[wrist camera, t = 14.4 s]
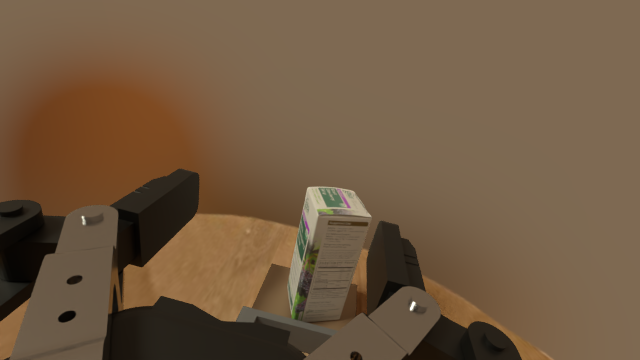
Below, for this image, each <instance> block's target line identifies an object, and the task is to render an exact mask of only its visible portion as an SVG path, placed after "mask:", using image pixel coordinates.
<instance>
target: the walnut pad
mask: <svg viewBox="0 0 640 360" xmlns="http://www.w3.org/2000/svg"><path fill="white" fill-rule="evenodd" d="M290 269H291V268H287V267H283V266H279V265H275V264H272V265H271V267H270V269H269V271H268V273H267V276H266V278H265V280H264V282H263V284H262V287H261V289H260V291H259V293H258V296H257V298H256V300H255V302H254V304H253V307H252V308H253V309H257V310H261V311H264V312H268V313H272V314H276V315H280V316H283V317H287V318H291V319H292V316H291V310H290V303H289V297H288V288H287V285H288V280H289V275H290ZM356 300H357V285H355V284H351V285H350V288H349V291H348V294H347V298H346V301H345V304H344V307H343V310H342V313H341V316H340V319H339V320H328V321H317V322H306V323H310V324H314V325H318V326H322V327H326V328H329V329H333V330H337V331H339V330H340V329H342V328H343V327H344V326H345V325H346V324H348V323H349V322H350V321H351V320H353V319H354V318H355V317H356Z"/></svg>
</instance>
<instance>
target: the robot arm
mask: <svg viewBox="0 0 640 360" xmlns="http://www.w3.org/2000/svg"><path fill="white" fill-rule="evenodd" d="M198 200H199V175H198V173H195V172H192V171H187V170H184V169H178V170H176V171H175V172H173V173H171V174H170V175H168V176H167V177H166V176H164V177H160V178H157V179H153V180H151V181H150V182H148V183H146V184H145V185H143V187H140V188H138V189H136V190H135V192H132V193H130V194H128V195H127V196H125V197H123V198H122V199H120V200H119V201H117V202H115V203H114V204H112V205H110V206H105V205H93V206H86V207H82V208H79V209H77V210H75V211H73V212H71V213H70V214H68V215H67V217H63V216H43V213H42V209H41V206H40V204H39V203H37V202H34V201H30V200H12V201H6V202H1V203H0V321H2V320H3V319H4V318H5V317H7V316H8V315H9V314H10V313H12V312H13V311H14V310H15V309H17V308H18V307H19V306H20V305H21V304H23V303H24V302H25V301H26V300H28V299H29V298H30V297H31V298H30V301H29V304H28V307H27V310H26V313H25V316H24V319H23V322H22V325H21V327H20V330H19V333H18V336H17V339H16V342H15V345H14V348H13V351H12V354H11V357H9V358H7V359H4V360H522V359H521V357H520V355H519V352H518V350H517V348H516V346H515V345H514V344H513V342H512V341H511V340H510V339H509V338H508V337H507V336H506V335H505V334H504V333H503V332H502V331H500V330H499V329H497V328H496V327H494V326H492V325H490V324H488V323H485V322H479V321H478V322H473V323H471V324H470V325H469V327H468V328H467V329H466V328H465V327H463V326H461V325H459V324H457V323H455V322H453V321H451V320H449V319H448V318H446V317H444V316H443V315H442V314H441V311H440V307H439V305H438V303H437V302H436V301H435V299H434V298H433V297H432V296H430V295H429V294H428V293H426V290H425V287H424V283H423V279H422V275H421V271H420V267H419V263H418V260H417V255H416V251H415V248H414V247H413V245H411V243H410V242H409V240H407V239H404V238H401V236H400V231H399V226H398V225H396V224H392V223H388V222H384V221H380V222H379V224H378V226H377V229H376V232H375V235H374V238H373V240H372V243H371V246H370V249H369V252H368V257H367V315H366V314H365V313H360V314H359V315H357V316H356V317H355V318H354V319H353V320H351V321H350V322H349V323H348V324H346V325H345V326H344V327H343V328H342V329H340V330H339V331H338V332H337V333H335V334H334V335H333V336H332V337H330V338H329V339H328V340H327V341H326V342H324V343H323V344H322V345H321V346H319V347H318V348H317V349H316V350H315V351H313V352H312V353H311V354H310V355H308V356H307V357H306V356H305V355H304V354H303V353H302V352H301V351H300V350H299V349H297V348H296V347H295V346H293V345H291V344H290V343H288V340H289V336H290V332H291V331H287V330H283V329H280V328H276V327H273V326H269V325H265V324H262V323H255V322H227V321H220V320H218V319H217V318H215V317H213V316H211V315H210V314H208V313H206V312H205V311H203V310H201V309H199V308H198V307H196V306H194V305H193V304H189V303H185V302H182V301H178V300H174V299H171V298H167V297H163V296H161V297H160V298H159V299H158V301H157V302H156V303H155V304H154V305H153V306H143V307H135V308H129V309H125V310H124V268H125V267H126V266H127V265H128V264H131V265H135V266H139V267H143V266H144V265H145V264H146V263H147V262H148V261H149V260H150V259H151V258H152V257H153V256H154V255H155V254H156V253H157V252H158V251H159V250H160V249H161V248H162V247H163V246H165V245H166V244H167V243H168V242H169V241H170V240H171V239H172V238H173V237H174V236H175V235H176V234H177V233H178V232H179V231H180V230H181V229H182V228H183V227H184V226H185V225H186V224H187V223H188V222H189V221H190V220H191V219H192V218H193V217H194V215H195V214H196V212H197V209H198V202H199V201H198Z"/></svg>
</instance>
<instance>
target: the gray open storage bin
mask: <svg viewBox="0 0 640 360" xmlns="http://www.w3.org/2000/svg"><path fill="white" fill-rule="evenodd" d="M236 322H255V323H262V324H265V325H269V326H273V327H276V328H280V329H283V330H287V331H291V332H290V336H289V340H288V343H290V344H291V345H293V346H295V347H296V348H297V349H299V350H300V351H301V352H305V353H309V354H311V353H312V352H313V351H315V350H316V349H317V348H318V347H319V346H321V345H322V344H323V343H324V342H326V341H327V340H328V339H329V338H330V337H332V336H333V335H334V334H335V333H337V332H338V331H337V330H333V329H329V328H326V327H322V326H318V325H314V324H310V323H306V322H303V321H299V320H295V319H291V318H287V317H283V316H280V315H276V314H272V313H268V312H264V311H261V310H257V309H253V308H249V307H245V306H243V308H242V310H241V312H240V314H239V316H238V318H237V320H236Z"/></svg>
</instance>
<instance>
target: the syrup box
mask: <svg viewBox="0 0 640 360" xmlns="http://www.w3.org/2000/svg"><path fill="white" fill-rule="evenodd" d="M370 222H371V215H370V214H369V213H368V212H367V211H366V209H365V207H364V205H363V204H362V202H361V201H360V199H359V198H358V197H357V195H356V193H355V192H354V191H352V190H346V189H341V188H334V187H308V188H307V193H306V198H305V202H304V208H303V212H302V217H301V222H300V226H299V230H298V235H297V240H296V245H295V249H294V254H293V259H292V264H291V269H290V275H289V280H288V285H287V288H288V297H289V303H290V310H291V316H292V319H295V320H299V321H303V322H317V321H328V320H339V319H340V316H341V313H342V310H343V307H344V304H345V301H346V298H347V294H348V291H349V288H350V285H351V282H352V279H353V275H354V272H355V269H356V266H357V263H358V260H359V257H360V254H361V250H362V247H363V244H364V241H365V238H366V234H367V231H368V228H369V225H370Z"/></svg>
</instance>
